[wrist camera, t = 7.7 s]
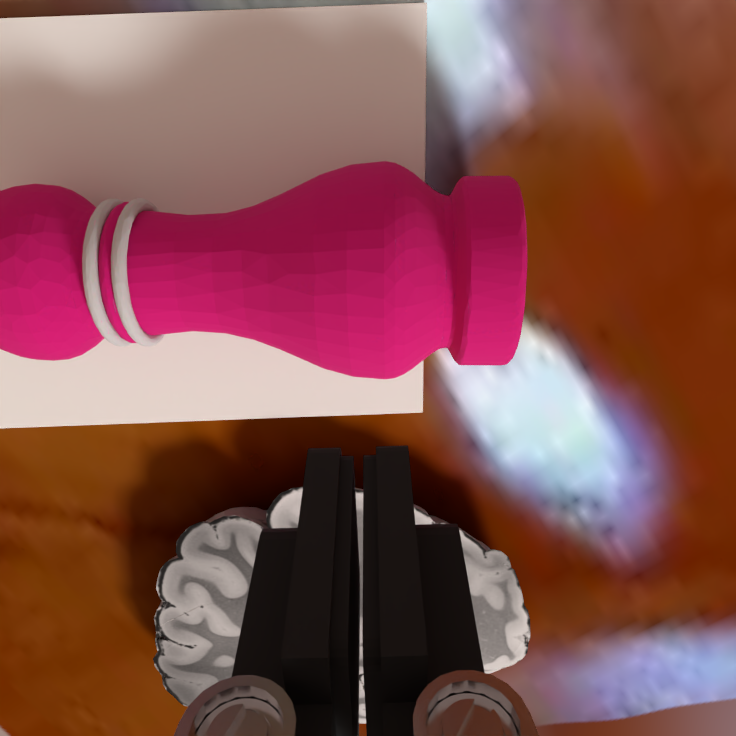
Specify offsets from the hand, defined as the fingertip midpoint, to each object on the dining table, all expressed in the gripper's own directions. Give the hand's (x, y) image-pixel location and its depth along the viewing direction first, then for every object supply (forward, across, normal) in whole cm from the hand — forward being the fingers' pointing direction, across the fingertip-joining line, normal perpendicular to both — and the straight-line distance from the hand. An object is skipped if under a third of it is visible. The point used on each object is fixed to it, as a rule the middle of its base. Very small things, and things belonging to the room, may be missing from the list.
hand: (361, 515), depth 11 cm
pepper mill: (+12, -5, 0) cm, 13 cm away
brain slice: (+17, +3, +19) cm, 26 cm away
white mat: (+16, +8, 0) cm, 18 cm away
